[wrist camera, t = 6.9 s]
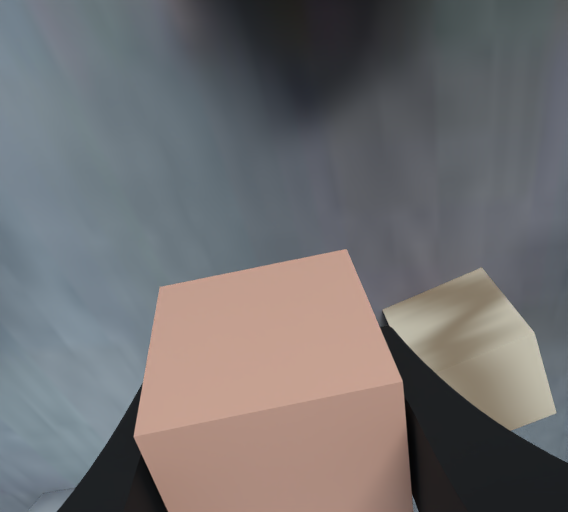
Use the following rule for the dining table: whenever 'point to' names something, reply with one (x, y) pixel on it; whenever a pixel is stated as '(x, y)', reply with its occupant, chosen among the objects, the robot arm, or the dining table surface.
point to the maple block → (477, 347)
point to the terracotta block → (274, 394)
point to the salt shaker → (51, 501)
